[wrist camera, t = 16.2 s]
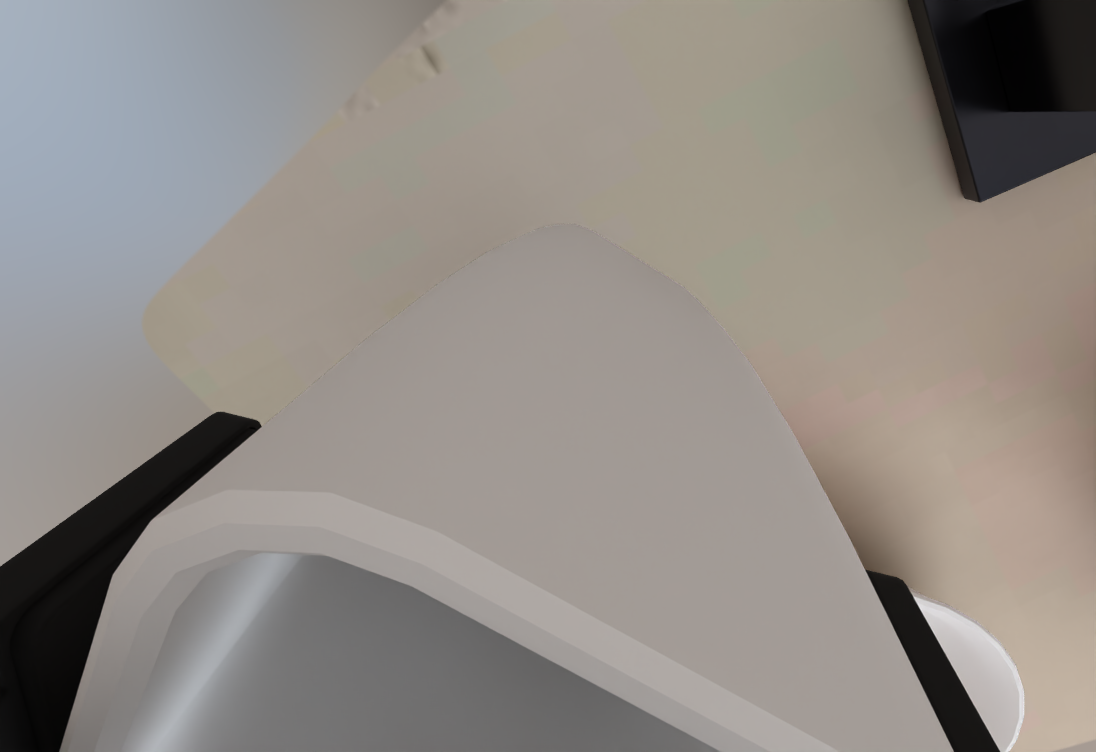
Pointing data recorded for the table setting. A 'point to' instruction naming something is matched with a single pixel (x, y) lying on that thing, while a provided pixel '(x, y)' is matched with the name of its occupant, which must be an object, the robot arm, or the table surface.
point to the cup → (509, 548)
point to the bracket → (1011, 86)
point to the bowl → (979, 668)
